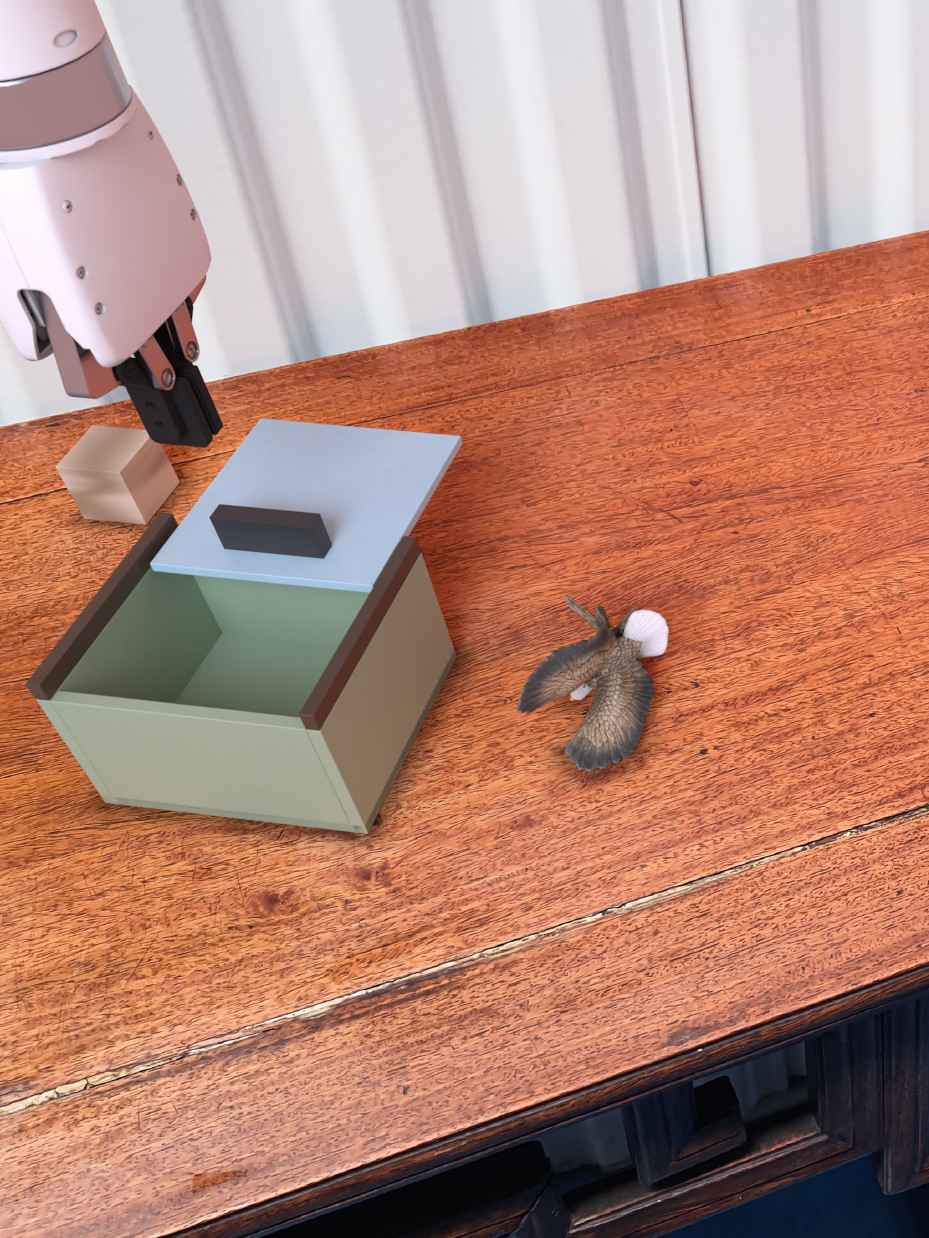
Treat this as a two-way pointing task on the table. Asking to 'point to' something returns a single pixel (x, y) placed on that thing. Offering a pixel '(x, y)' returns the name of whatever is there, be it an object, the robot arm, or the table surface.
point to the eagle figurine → (602, 683)
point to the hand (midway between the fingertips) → (188, 435)
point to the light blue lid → (310, 505)
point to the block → (118, 475)
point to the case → (247, 689)
